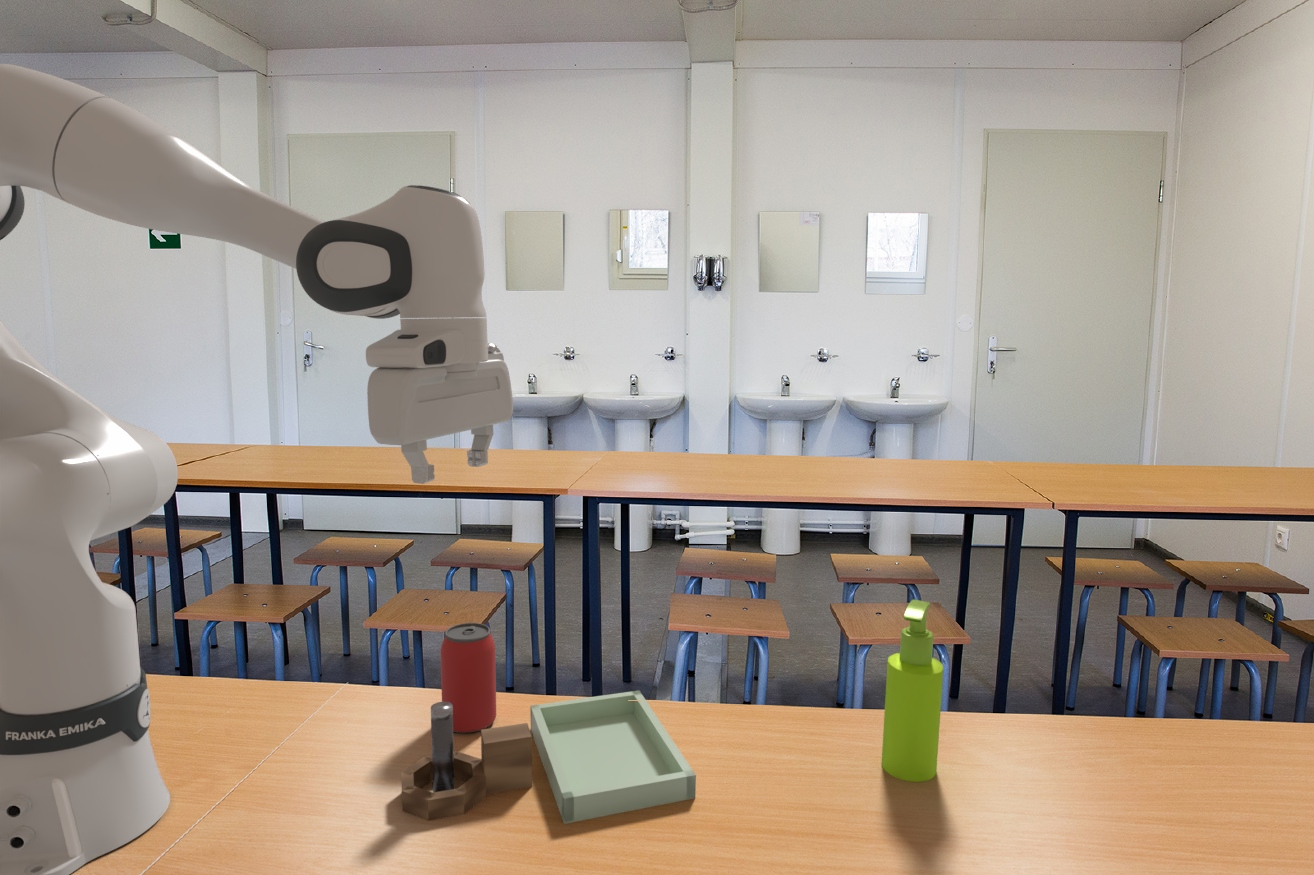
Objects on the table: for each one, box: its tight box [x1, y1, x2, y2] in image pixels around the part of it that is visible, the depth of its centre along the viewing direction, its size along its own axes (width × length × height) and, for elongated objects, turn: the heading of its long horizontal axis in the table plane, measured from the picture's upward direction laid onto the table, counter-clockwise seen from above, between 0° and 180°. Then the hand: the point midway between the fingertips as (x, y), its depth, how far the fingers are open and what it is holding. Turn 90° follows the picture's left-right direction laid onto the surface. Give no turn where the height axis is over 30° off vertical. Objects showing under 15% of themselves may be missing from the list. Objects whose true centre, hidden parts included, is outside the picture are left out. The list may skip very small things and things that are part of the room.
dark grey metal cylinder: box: [430, 701, 456, 793], centre depth 82 cm, size 2×2×10 cm
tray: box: [529, 690, 697, 825], centre depth 89 cm, size 14×20×3 cm
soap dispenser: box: [881, 599, 944, 783], centre depth 86 cm, size 6×7×20 cm
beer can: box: [440, 622, 497, 734], centre depth 97 cm, size 7×7×12 cm
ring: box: [400, 722, 533, 822], centre depth 83 cm, size 8×13×6 cm, turn 109°
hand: (452, 473), depth 85 cm, fingers open, 8 cm apart
